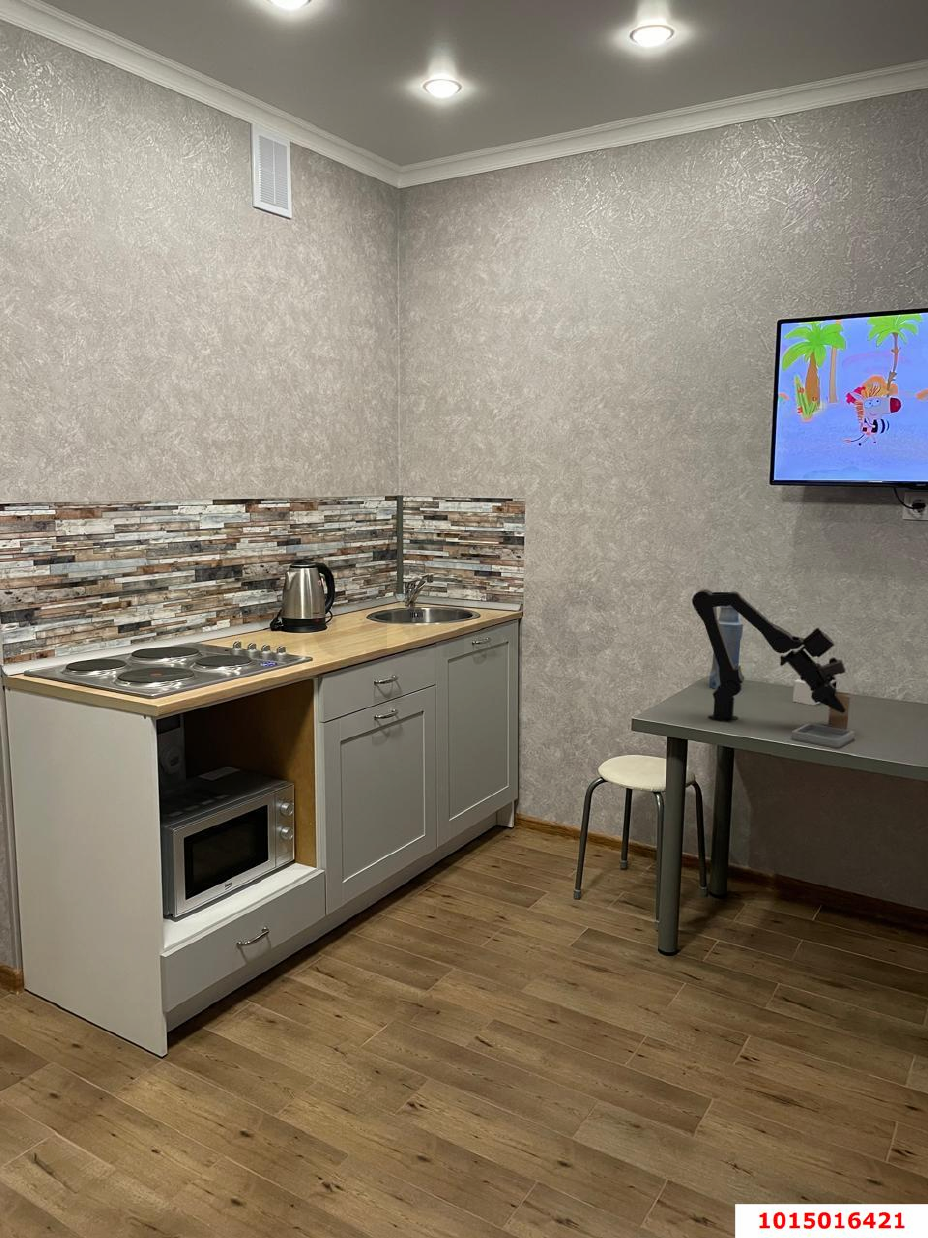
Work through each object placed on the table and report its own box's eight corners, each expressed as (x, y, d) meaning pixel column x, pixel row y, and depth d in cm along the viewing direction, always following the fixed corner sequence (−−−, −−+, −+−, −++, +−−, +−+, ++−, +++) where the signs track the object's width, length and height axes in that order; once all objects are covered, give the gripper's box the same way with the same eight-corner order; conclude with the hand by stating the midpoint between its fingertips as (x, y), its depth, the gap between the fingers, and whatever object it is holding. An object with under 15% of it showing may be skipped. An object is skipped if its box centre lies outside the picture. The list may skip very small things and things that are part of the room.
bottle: (707, 683, 323) (712, 598, 318) (735, 685, 322) (741, 599, 318) (711, 690, 314) (717, 602, 309) (741, 691, 313) (747, 603, 308)
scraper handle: (846, 735, 260) (849, 696, 259) (827, 732, 262) (830, 694, 261) (846, 730, 265) (850, 693, 263) (828, 728, 267) (831, 691, 265)
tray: (837, 748, 247) (838, 740, 246) (791, 739, 255) (791, 731, 254) (854, 739, 256) (854, 731, 256) (808, 730, 264) (809, 723, 264)
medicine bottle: (802, 698, 304) (805, 662, 302) (823, 702, 299) (826, 666, 297) (792, 701, 299) (794, 665, 297) (813, 706, 294) (816, 669, 292)
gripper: (827, 655, 253) (868, 699, 250) (830, 644, 270) (868, 685, 267) (795, 680, 257) (834, 724, 255) (799, 668, 274) (836, 709, 272)
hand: (844, 709), depth 262 cm, fingers closed on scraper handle, 5 cm apart
